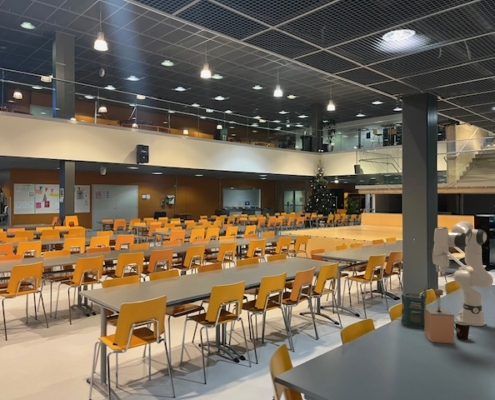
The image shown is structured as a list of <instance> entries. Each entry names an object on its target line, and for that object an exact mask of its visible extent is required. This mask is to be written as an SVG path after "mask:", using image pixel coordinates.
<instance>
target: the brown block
mask: <svg viewBox="0 0 495 400" xmlns="http://www.w3.org/2000/svg"><path fill="white" fill-rule="evenodd" d="M454 322H455V314H454V313H452V312H451V311H450V310H449V309H448V308H440V312H438V308H435V307H434V308H432V307H431V308H430V307H426V308H425V328H423V329H424V332H423V334H424V336H425V337H426V338H427V340H428V341H429V342H431V343H432V342H434V343H442V344H445V343H446V344H454V343H455V328H454V327H455V323H454Z"/></svg>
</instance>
